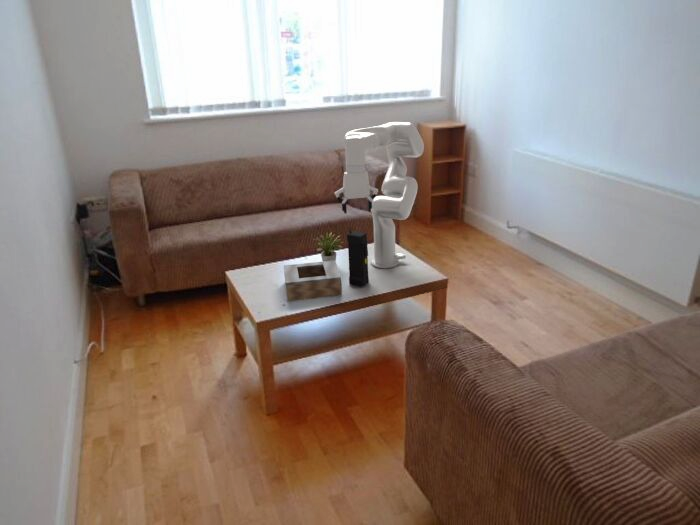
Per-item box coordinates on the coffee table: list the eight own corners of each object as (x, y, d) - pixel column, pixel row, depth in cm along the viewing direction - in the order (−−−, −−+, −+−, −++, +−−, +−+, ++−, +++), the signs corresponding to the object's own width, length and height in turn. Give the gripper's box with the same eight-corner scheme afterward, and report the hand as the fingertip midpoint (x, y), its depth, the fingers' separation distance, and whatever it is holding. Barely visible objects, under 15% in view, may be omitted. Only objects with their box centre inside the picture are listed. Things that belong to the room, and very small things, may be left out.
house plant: (324, 276, 227) (322, 241, 221) (306, 267, 237) (303, 233, 231) (349, 267, 235) (348, 233, 229) (331, 259, 245) (329, 226, 239)
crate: (336, 277, 225) (335, 260, 222) (342, 295, 209) (341, 277, 206) (285, 282, 222) (283, 265, 219) (287, 301, 206) (285, 282, 203)
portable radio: (371, 282, 219) (370, 226, 209) (364, 288, 214) (363, 231, 204) (355, 279, 223) (353, 224, 213) (348, 284, 218) (345, 228, 208)
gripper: (375, 165, 204) (376, 207, 211) (332, 168, 202) (334, 210, 208) (379, 169, 197) (380, 212, 204) (334, 172, 195) (336, 216, 201)
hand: (357, 211), depth 206 cm, fingers open, 9 cm apart
